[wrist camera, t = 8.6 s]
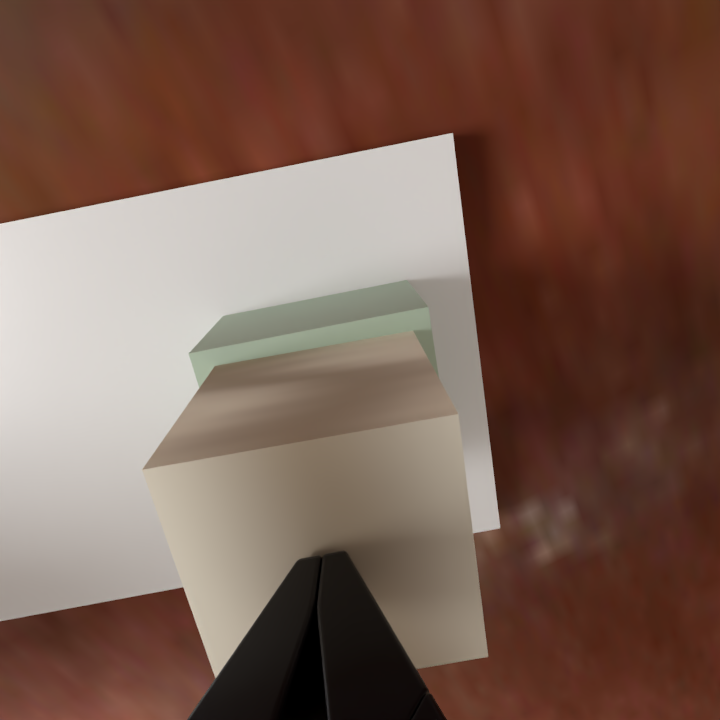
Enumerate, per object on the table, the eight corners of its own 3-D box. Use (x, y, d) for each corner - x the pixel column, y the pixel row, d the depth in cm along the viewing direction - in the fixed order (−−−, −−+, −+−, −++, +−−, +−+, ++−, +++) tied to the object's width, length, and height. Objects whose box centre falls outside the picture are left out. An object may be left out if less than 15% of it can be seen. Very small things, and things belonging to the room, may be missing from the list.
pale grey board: (5, 603, 21) (-11, 623, 20) (-173, 260, 16) (-204, 265, 15) (492, 512, 20) (500, 528, 19) (446, 136, 16) (452, 133, 15)
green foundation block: (268, 476, 18) (250, 551, 14) (222, 316, 16) (188, 353, 13) (433, 445, 18) (458, 512, 14) (407, 279, 16) (428, 306, 12)
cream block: (261, 532, 14) (223, 701, 10) (214, 365, 13) (142, 469, 8) (437, 501, 14) (488, 656, 9) (412, 330, 13) (458, 413, 8)
